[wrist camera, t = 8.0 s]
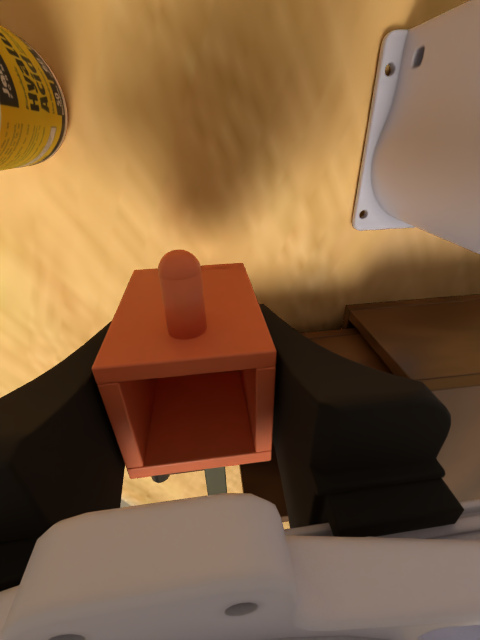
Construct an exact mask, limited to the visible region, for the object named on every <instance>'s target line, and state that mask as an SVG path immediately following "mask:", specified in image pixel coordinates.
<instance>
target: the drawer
mask: <svg viewBox="0 0 480 640" xmlns="http://www.w3.org/2000/svg"><path fill="white" fill-rule="evenodd" d="M301 334H302V335H304V336H305V337H307V338H308V339H310V340H312V341H313V342H315V343H317V344H318V345H320V346H322V347H324V348H326V349H328V350H330V351H332V352H334V353H336V354H338V355H340V356H342V357H345V358H347V359H350V360H352V361H354V362H357V363H359V364H362V365H365V366H368V367H371V368H374V369H377V370H380V371H383V372H386V373H390V374H393V375H394V373H393V372H392V371H391V370H390V369H389V367H388V366H387V365H386V364H385V363H384V361H383V360H382V359H381V358H380V357H379V355H378V354H377V353H376V352H375V351H374V349H373V348H372V347H371V346H370V344H369V343H368V342H367V341H366V340H365V338H364V337H363V336H362V335H361V334H360V332H359V331H358V330H357V329H356V328H351V329H340V330H329V331H318V332H307V333H301ZM271 450H272V451H271V460H270V461H263V462H256V463H248V464H240V465H239V467H240V474H241V482H242V489H243V493H251V494H253V495H255V496H258V497H260V498H262V499H265V500H267V501H269V502H271V503H273V504H275V505H276V508H277V510H278V512H279V514H280V517H281V519H282V522H287V521H289V519H288V513H287V507H286V502H285V497H284V492H283V487H282V481H281V476H280V471H279V466H278V461H277V457H276V452H275V447H274V442H273V438H272V449H271ZM202 470H205V477H206V485H207V492H208V495H215V494H222V493H227V486H226V474H225V467H218V468H210V469H202ZM202 470H195V471H202ZM187 472H194V471H187ZM180 473H186V472H180ZM172 474H179V473H172ZM170 475H171V474H164V475H157V476H151V477H152V479H153V481H155V482H157V483H161V482H164V481H165V480H167V479H168V477H169V476H170Z"/></svg>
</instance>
